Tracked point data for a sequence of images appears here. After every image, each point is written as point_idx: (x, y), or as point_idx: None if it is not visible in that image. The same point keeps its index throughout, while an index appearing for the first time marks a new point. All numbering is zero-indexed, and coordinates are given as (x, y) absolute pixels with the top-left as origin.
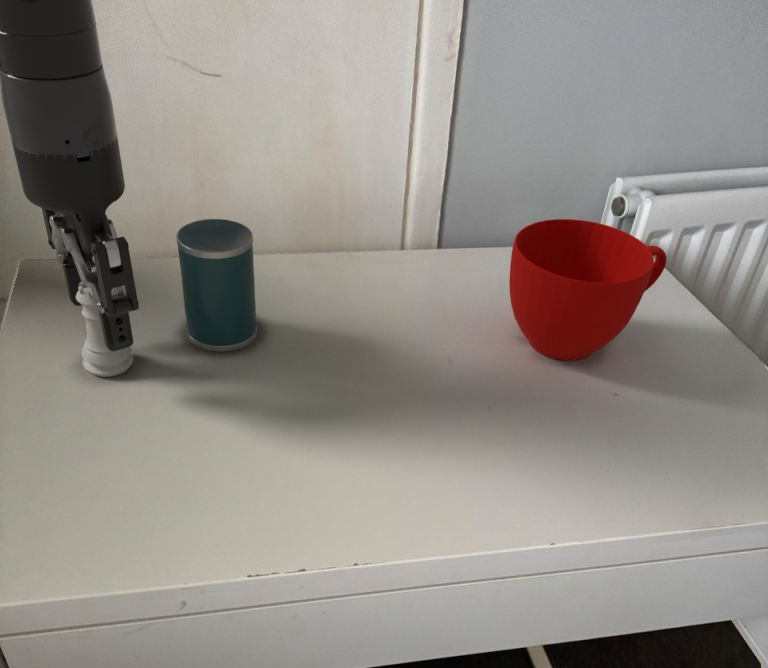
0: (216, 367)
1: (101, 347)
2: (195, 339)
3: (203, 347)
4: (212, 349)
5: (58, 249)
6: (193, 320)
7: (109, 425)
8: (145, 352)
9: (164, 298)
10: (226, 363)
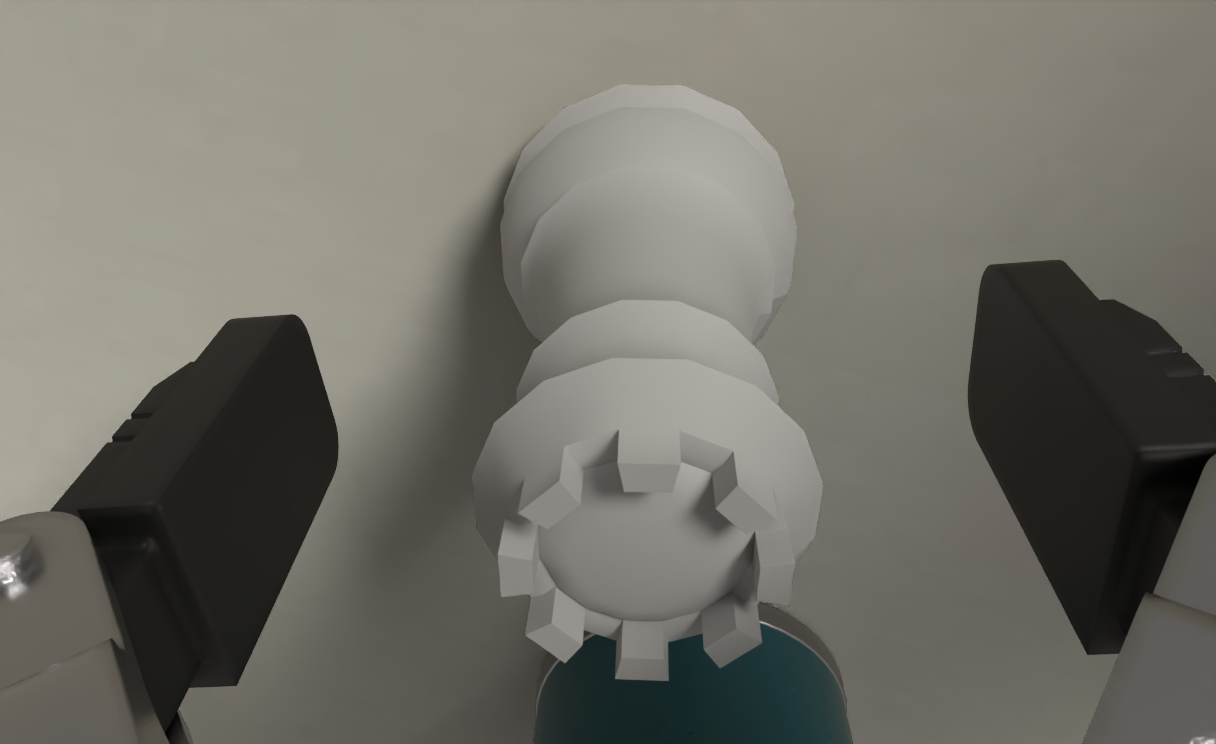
0: (441, 606)
1: (545, 257)
2: None
3: None
4: None
5: (1114, 672)
6: (636, 707)
7: (65, 55)
8: None
9: None
10: (457, 642)
